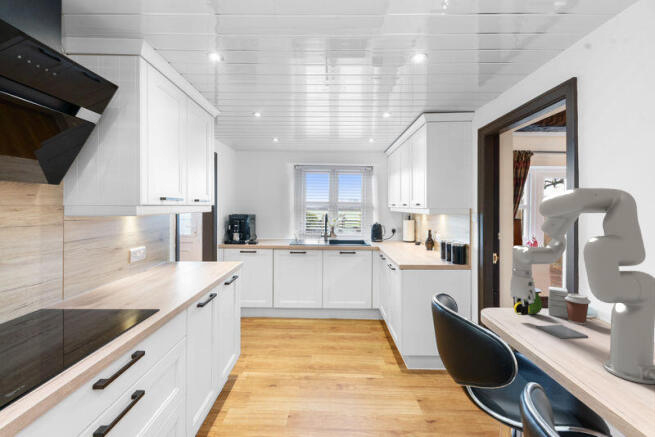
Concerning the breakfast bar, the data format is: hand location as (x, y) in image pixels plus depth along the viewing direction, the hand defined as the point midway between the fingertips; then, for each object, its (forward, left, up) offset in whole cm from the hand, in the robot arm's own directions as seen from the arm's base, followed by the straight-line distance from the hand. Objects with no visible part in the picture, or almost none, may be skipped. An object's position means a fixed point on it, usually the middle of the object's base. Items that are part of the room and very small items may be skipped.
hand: (521, 313), depth 140 cm
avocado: (+9, -13, -4) cm, 16 cm away
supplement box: (+7, -25, -4) cm, 26 cm away
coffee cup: (-3, -25, -4) cm, 26 cm away
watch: (0, 0, -1) cm, 1 cm away
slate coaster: (-13, -7, -4) cm, 15 cm away
